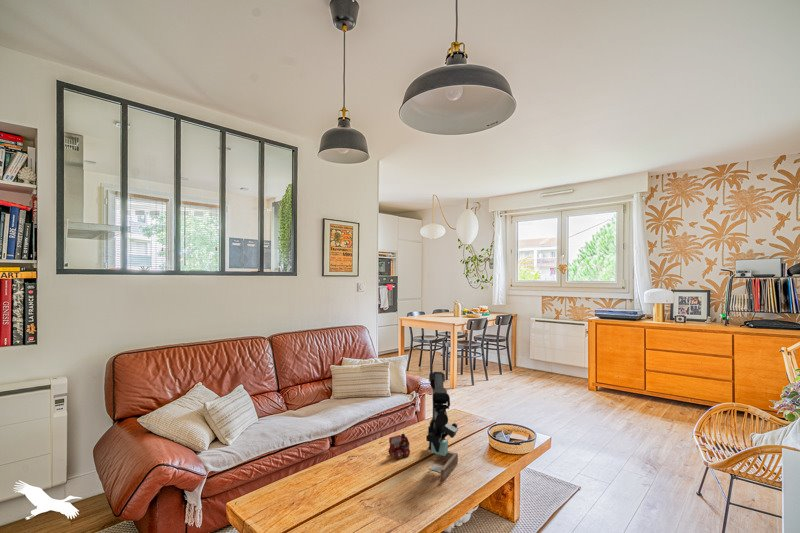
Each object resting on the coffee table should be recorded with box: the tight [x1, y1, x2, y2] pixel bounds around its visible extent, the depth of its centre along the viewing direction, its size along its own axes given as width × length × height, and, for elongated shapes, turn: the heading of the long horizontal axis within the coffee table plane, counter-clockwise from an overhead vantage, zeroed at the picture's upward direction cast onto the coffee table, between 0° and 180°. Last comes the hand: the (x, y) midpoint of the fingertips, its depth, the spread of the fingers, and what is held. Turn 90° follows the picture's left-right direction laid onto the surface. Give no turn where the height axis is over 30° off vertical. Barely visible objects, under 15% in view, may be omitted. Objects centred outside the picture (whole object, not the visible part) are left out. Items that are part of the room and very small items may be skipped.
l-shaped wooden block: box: [428, 450, 459, 482], centre depth 184 cm, size 11×19×5 cm, turn 152°
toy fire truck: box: [387, 433, 411, 460], centre depth 197 cm, size 7×12×10 cm, turn 126°
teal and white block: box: [430, 438, 449, 456], centre depth 184 cm, size 7×4×6 cm, turn 62°
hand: (439, 450), depth 184 cm, fingers closed on teal and white block, 4 cm apart
